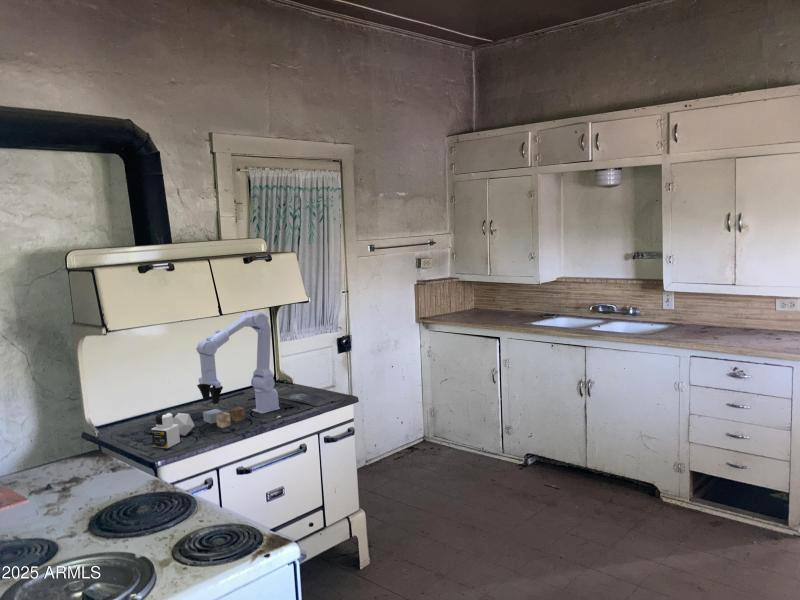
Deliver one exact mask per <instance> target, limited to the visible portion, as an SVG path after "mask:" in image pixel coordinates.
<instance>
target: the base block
mask: <svg viewBox="0 0 800 600" xmlns="http://www.w3.org/2000/svg"><path fill="white" fill-rule="evenodd" d="M223 412H224V411H223V410H220V409H218V408H215V409H211V410H206V411H202V417H203V422H205V423H208V424H217V420H216V414H220V413H223Z"/></svg>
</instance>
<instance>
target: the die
mask: <svg viewBox="0 0 800 600" xmlns="http://www.w3.org/2000/svg"><path fill="white" fill-rule="evenodd" d="M173 424H178V425H179V436H182V437H183V436H184V437H185V436H187V435H188V434H189V433H190V432H191V430H192V429H193V428H194V427H195V423H194V422H193V419H192V418H191V415H190V413H182V412H178V413H177V414H176V415H175V416H174V417H173Z"/></svg>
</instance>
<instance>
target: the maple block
mask: <svg viewBox="0 0 800 600" xmlns="http://www.w3.org/2000/svg"><path fill="white" fill-rule="evenodd" d="M216 420H217V422H216V427H218V428H221V429H223V428H227V427H231V426H232V425H231V424H232V423H231V413H229V412H225V411H223V413H220V414H216Z"/></svg>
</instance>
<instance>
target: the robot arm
mask: <svg viewBox="0 0 800 600" xmlns="http://www.w3.org/2000/svg"><path fill="white" fill-rule="evenodd" d="M245 327H250V328H252V329H253V330H254V331H255V332H256V333H257V348H256V350H257V351H256V369H255V370H254V371H253V372H252V378H251V381H250V384H251V386H252V388H253V389H254V390H253V391H254V395H255V398H254V399H255V407H256V408H252V411H253V412H254V413H255V412H256V413H259V414H266V413H269V412H274V411H277V410H280V408H281V407H280V405H279V404H280V403H279V394H278V391H277V389H276V388H274V387H275V384H276V383H275V379H274V374H273V372H272V370H271V369H270V366H271V365H270V363H271V362H270V360H271V359H270V357H271V337H272V335H271V334H272V333H271V332H272V328H271V326H270V322H269V316H268V315H267V314H265V313H264V312H260V311H259V312H257V311H251V310H248V311H246V312H244V313H243V314H241V315H240V316H239V318H237V319H236V320H235V321H234V322H233V323H230V325H229V326H227V327H226V328H225V329H216V330H215V333H213V334H211V335H210V336H207V337H206V339H203V340H201V341H198V344H197V347H196V352H197V353H198V354H199V360H200V373H201V377H199V378H198V384H197V385H196V386H197V388H198V389H199V391H200V394H201V396H202V399H203V401H204V402H206V401H209V400H210V398H211V402H212V404H213V405H216V404H220V403H219V402H220V398H221V397H220V396H221V393H222V390H223V389H224V386H222V385H221V384H222V383H221V382H220V380H218V379H217V370H216V369H217V367H216V358H215V357H216V356H215V355H216V353H217V352H218V351H217V350H218V349H219V348H221V347H222V346H223V345H224V344H226V343H227V342H229V340H230V337H231V336H232V335H234V334H235V333H237V332H238V331H240V330H242V329H243V328H245ZM211 386H212V387H211Z"/></svg>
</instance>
